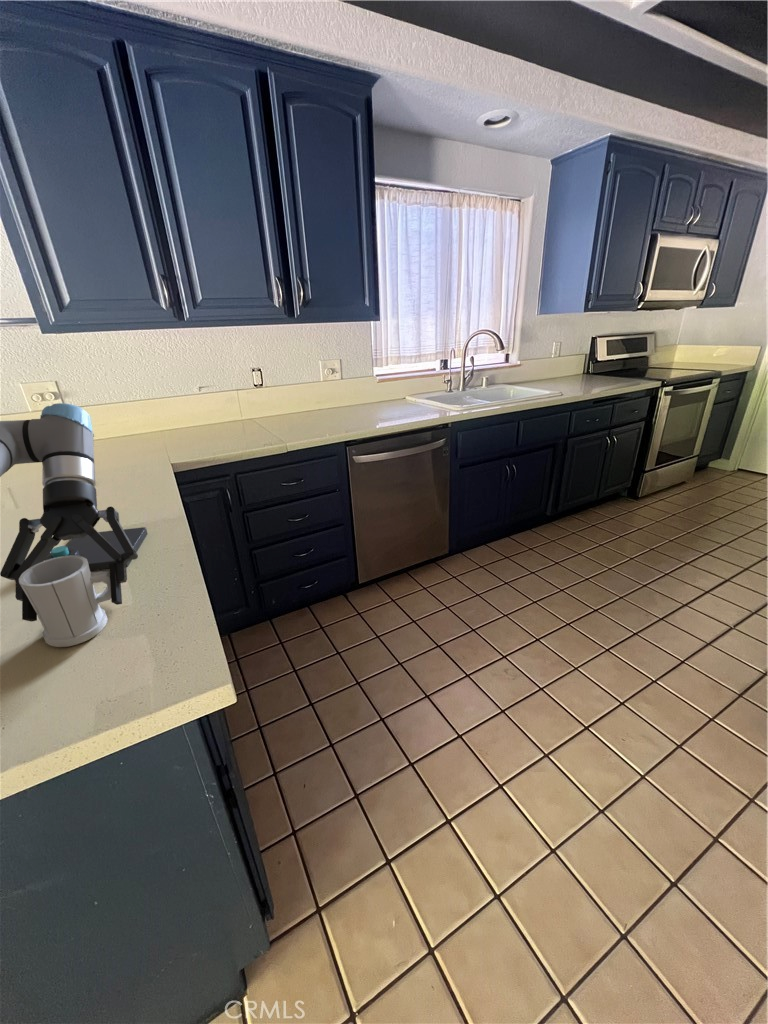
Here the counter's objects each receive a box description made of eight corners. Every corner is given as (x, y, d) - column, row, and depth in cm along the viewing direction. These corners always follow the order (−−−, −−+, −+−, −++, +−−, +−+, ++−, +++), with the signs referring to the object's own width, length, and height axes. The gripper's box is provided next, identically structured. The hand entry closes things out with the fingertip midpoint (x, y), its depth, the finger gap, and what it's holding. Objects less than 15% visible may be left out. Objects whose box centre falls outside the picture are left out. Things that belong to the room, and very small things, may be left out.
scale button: (50, 560, 86) (47, 553, 85) (57, 553, 89) (54, 546, 88) (66, 558, 87) (63, 551, 86) (72, 551, 89) (69, 545, 88)
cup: (94, 602, 78) (73, 546, 73) (129, 615, 75) (111, 556, 70) (32, 639, 69) (4, 578, 64) (70, 655, 66) (43, 592, 61)
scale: (44, 578, 86) (38, 563, 84) (77, 541, 99) (72, 528, 98) (127, 568, 89) (122, 553, 87) (147, 534, 102) (144, 520, 101)
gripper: (150, 486, 81) (161, 599, 75) (0, 505, 74) (-2, 631, 68) (139, 469, 75) (150, 591, 68) (-28, 488, 67) (-33, 626, 61)
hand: (74, 611), depth 68 cm, fingers closed on cup, 11 cm apart
